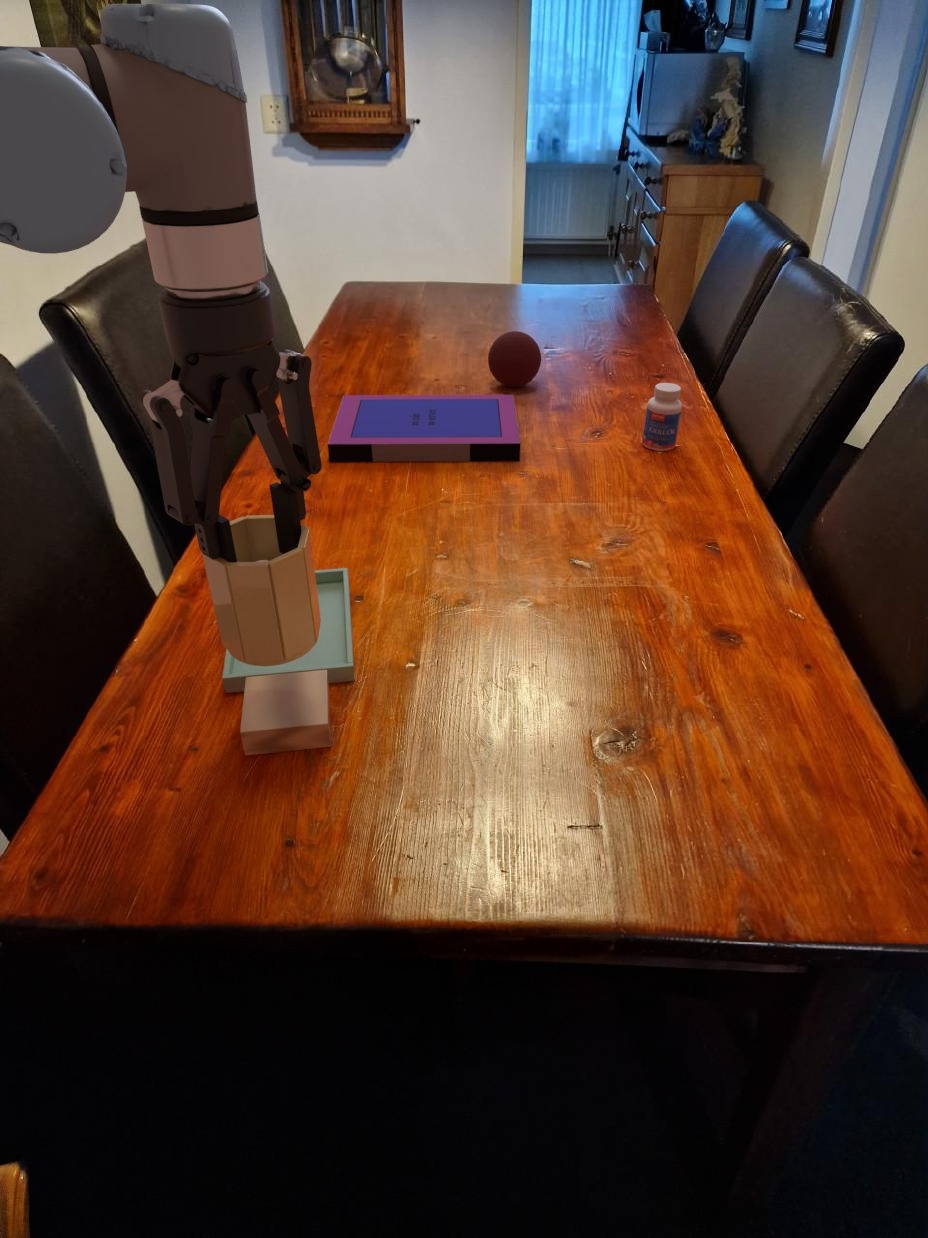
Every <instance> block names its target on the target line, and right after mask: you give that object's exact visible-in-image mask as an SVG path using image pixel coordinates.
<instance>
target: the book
mask: <svg viewBox="0 0 928 1238" xmlns="http://www.w3.org/2000/svg"><path fill="white" fill-rule="evenodd" d="M520 437H521V436H520V429H519V423H518V417H517V410H516V403H515V396H514V394H399V395H398V394H376V395H375V394H365V395H364V394H357V395H356V394H355V395H353V394H352V395H351V394H349V395H347V394H344V395H342V398H341V402H340V405H339V408H338V410H337V414H336V417H335V420H334V423H333V426H332V429H331V432H330V435H329V438H328V441H327V452H328V461H329V462H328V463H389V462H390V463H397V462H398V463H404V462H405V463H407V462H410V463H413V462H415V463H417V462H420V463H422V462H423V463H424V462H425V463H426V462H429V463H430V462H434V463H435V462H437V463H438V462H439V463H440V462H441V463H442V462H521V438H520Z"/></svg>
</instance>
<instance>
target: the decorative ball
mask: <svg viewBox="0 0 928 1238" xmlns="http://www.w3.org/2000/svg"><path fill="white" fill-rule="evenodd" d="M487 362H488V368H489V371H490V373H491V375H492V377H493V378H494V379H495V380H496V381H497V382H499V384H501V385H504V386H506V387H510V388H520V387H522V386H526V385H527V384H529V383H531V382H532V381H533V380H534V379H535V377H537V375H538V373H539V371H540V368H541V364H542V353H541V349H540V347H539V344H538V343H537V342H536V340H535V339H534V338H533V337H532V336H531V335H529V334H528V333H526V332H523V331H517V330H513V331H508V332H505V333H502V334H500V336H498V337H497V338H496V339H495V340H494V341H493V343H492V344H491V346H490V348H489V351H488V354H487Z"/></svg>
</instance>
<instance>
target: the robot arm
mask: <svg viewBox="0 0 928 1238" xmlns="http://www.w3.org/2000/svg"><path fill="white" fill-rule="evenodd" d="M99 21H100V28H101V32H100V35H99V38H100V43H98V44H97V43H96V44H89V45H87V46H85V45H84V46H82V45H81V46H80V45H79V46H78V45H77V46H76V47H54V46H53V47H50V46H49V47H48V46H47V47H46V46H13V45H12V46H10V45H8V46H7V45H0V243H1V244H5V245H9V246H12V247H14V248H17V249H20V250H23V251H27V252H31V253H37V254H49V255H51V254H55V255H56V254H63V253H69V252H72V251H76V250H80V249H81V248H84V247H86V246H88V245H90V244H92V243H93V242H95V241H96V240H98V239H99V238H100V237H101V236H102V235H103V234H104V233H106V232H107V231H108V229H110V227H111V226H112V225H113V223H114V222H115V220H116V218H117V217H118V215H119V213H120V210H121V209H122V206H123V203H124V199H125V194H126V193H132V192H134V193H135V195H136V198H137V202H138V205H139V206H138V207H139V212H140V213H139V214H140V217H141V221H142V226H143V231H144V235H145V240H146V245H147V250H148V255H149V260H150V264H151V269H152V273H153V274H152V275H153V279H154V281H155V282H156V283H157V284H158V285H159V286H161V287H162V289H161V291H160V293H159V294H158V296H157V300H158V304H159V311H160V314H161V320H162V323H163V329H164V334H165V338H166V342H167V345H168V347H169V350H170V353H171V356H172V366H171V370H170V372H169V373H170V374H169V378H170V380H169V381H167V382H166V383H164V384H162V385H161V386H160V387H158V388H157V389H155V390H154V391H151V390H148V389H142V390H140V391H139V392H138V394H137V398H136V399H137V404H138V405H139V407H140V408H141V410H142V411H143V412H142V413H144V415H145V418H147V421H148V422H149V426H150V431H151V437H152V443H153V448H154V455H155V459H156V465H157V471H158V477H159V482H160V488H161V493H162V499H163V504H164V505H163V506H164V510H165V513H166V514H167V515H168V516H170V517H171V518H172V519H174V520H176V521H178V522H179V523H181V524H182V525H184V526H187V527H191V526H194V529H195V534H196V538H197V543H198V548H199V551H200V552H201V554H202V553H203V554H204V555H206V556H207V557H209V558H211V559H212V560H214V559H216V558H219V557H221V558H223V559H225V560H226V561H228V562H237V558H236V553H235V547H234V542H233V537H232V532H231V526H230V521H231V520H230V519H228V517H225V516H223V515H222V514H220V509H221V499H222V498H221V497H222V486H223V474H224V464H225V454H226V453H225V451H226V442H227V441H226V440H227V438H228V437H230V435H231V430H232V422H234V421H236V420H237V419H238V418H240V417H242V416H247V417H248V419H249V421H250V423H251V425H252V428H253V430H254V432H255V434H256V436H257V438H258V441H259V442H260V445H261V447H262V449H263V451H264V454H265V455H266V457H267V460H268V462H269V463H270V466H271V469H272V470H273V472H274V475H275V477H276V479H277V480H279V482H280V483H279V482H278V481H276V482H273V483H271V484H269V492H270V493H269V494H270V498H271V499H270V500H271V505H272V511H273V515H274V519H275V526H276V532H277V539H278V545H279V552H281V553H282V554H285V553H287V552H289V551H292V550H294V549H296V548H298V544H299V540H300V536H301V524H302V523H301V521H303V520H305V519H306V516H307V507H306V499H305V492H308V491H309V490H310V489H311V487H312V480H311V479H310V478H309V477H310V476H311V475H318V474H319V473H320V472H321V470H322V468H323V467H322V466H323V465H322V459H321V453H320V447H319V439H318V433H317V427H316V421H315V415H314V409H313V403H312V396H311V391H310V381H311V373H312V359H311V357H310V356H308V355H306V354H303V353H299V352H296V351H293V350H290V349H288V348H287V349H286V348H285V349H284V350H282V351H279V350H278V348H277V346H276V345H275V343H274V340H273V339H274V338H275V335H276V326H275V319H274V311H273V303H272V297H271V290H270V288H269V287H268V286H267V285H266V284H265V283H264V282H263V280H265V278H266V277H267V275H268V274H269V268H268V262H267V261H268V260H267V254H266V247H265V241H264V235H263V234H264V233H263V228H262V221H261V214H260V212H259V204H258V200H257V199H258V198H257V191H256V183H255V174H254V173H255V172H254V166H253V165H254V164H253V156H252V155H253V154H252V147H251V137H250V129H249V119H248V113H247V112H248V111H247V103H248V97H247V94H246V92H245V89H244V83H243V78H242V71H241V67H240V60H239V56H238V50H237V45H236V39H235V36H234V31H233V28H232V25H231V23H230V21H229V19H228V18H227V17H226V15H225V14H224V13H223V12H222V11H220V10H219V9H218V8H216V7H215V6H211V5H206V4H195V3H109V4H108V5H105V6H104V7H103V8H102V10H101V11H100V16H99ZM276 377H277V383H278V384H277V385H278V390H279V397H280V401H281V408H282V414H283V417H284V424H285V428H284V425H283V424H282V421H281V419H280V414H281V413H280V410H279V407H278V405H277V403H276V400H275V397H274V396H273V393H272V391H271V388H272V387H273V383H274V381H275V379H276ZM182 398H184V399H185V400H186V401H187V402H188V403H189V404H191V405H190V417H189V418H190V421H189V422H190V426H191V428H192V443H191V458H190V461H189V455H188V450H187V443H186V442H187V441H186V435H185V431H184V426H183V423H182V421H181V419H180V418H181V417H182V416H183V415H184V411H183V409H182V406H181V405H182V404H181V401H182ZM285 429H286V430H285Z"/></svg>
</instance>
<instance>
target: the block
mask: <svg viewBox="0 0 928 1238" xmlns="http://www.w3.org/2000/svg"><path fill="white" fill-rule="evenodd" d="M331 718H332V717H331V689H330V683H329V681H328V673H327V670H318V671H307V672H297V673H286V674H275V675H265V676H254V677H246V681H245V690H244V691H243V700H242V708H241V719H240V726H239V727H240V728H239V735H240V740H241V745H242V748H243V753H244V756H255V755H264V754H265V755H267V754H275V753H283V752H284V753H285V752H292V751H293V752H295V751H303V750H313V749H321V748H331V747H332V725H331V720H332V719H331Z"/></svg>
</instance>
